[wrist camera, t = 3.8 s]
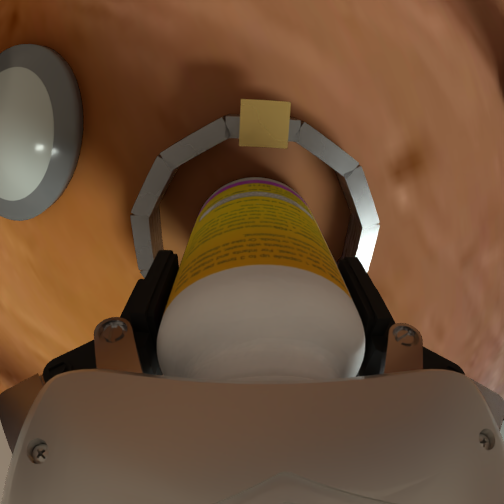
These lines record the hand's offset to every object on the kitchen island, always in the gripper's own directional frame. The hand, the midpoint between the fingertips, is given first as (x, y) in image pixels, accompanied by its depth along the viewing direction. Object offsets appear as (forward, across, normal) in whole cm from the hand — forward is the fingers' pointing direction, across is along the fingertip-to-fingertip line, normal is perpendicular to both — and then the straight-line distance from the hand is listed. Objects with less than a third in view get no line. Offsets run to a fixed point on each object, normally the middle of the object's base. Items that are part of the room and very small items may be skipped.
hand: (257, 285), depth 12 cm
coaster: (+5, +16, -7) cm, 18 cm away
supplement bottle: (+5, 0, 0) cm, 5 cm away
